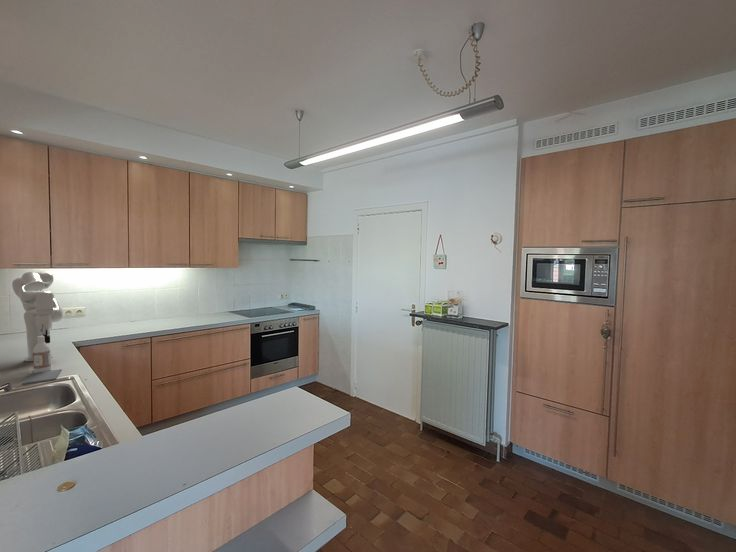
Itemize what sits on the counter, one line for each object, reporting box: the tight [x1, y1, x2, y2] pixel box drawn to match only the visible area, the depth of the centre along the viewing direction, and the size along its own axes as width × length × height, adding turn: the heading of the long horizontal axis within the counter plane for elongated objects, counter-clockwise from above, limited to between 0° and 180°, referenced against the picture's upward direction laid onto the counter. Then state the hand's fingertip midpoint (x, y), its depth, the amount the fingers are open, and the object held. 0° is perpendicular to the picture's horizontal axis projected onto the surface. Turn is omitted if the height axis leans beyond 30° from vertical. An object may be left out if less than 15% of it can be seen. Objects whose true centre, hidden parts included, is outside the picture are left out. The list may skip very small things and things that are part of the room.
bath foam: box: [32, 336, 52, 373], centre depth 188 cm, size 7×7×20 cm
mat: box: [21, 368, 62, 386], centre depth 179 cm, size 17×13×1 cm
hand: (46, 343), depth 198 cm, fingers closed
